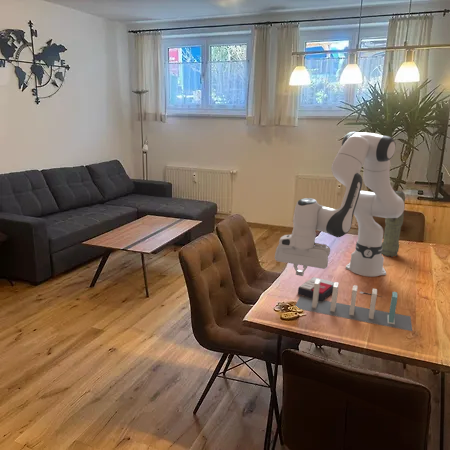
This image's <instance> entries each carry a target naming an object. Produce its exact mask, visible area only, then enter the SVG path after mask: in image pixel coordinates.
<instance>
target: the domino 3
mask: <svg viewBox="0 0 450 450" xmlns="http://www.w3.org/2000/svg"><path fill="white" fill-rule="evenodd" d="M358 288H359V286H358V285H355V284H354V285H353V286H352V290H351V299H350V304H349V305H350V312H349V315H354V310H355V306H356V301H357V294H358Z"/></svg>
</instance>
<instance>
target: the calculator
mask: <svg viewBox="0 0 450 450" xmlns="http://www.w3.org/2000/svg"><path fill="white" fill-rule="evenodd" d="M316 279H320V288H319V297H318V300H320V301H323V300H326V299H327V298H328V297H329V296H330V295H332V292H333V285H334V282H335V281H331V280H327V279H323V278H319V277H315V276H313V277H311V278H310V279H308V280H307V281H305V282H304V283H303V284H301V285H300V286H298V288H297V295H299V296H303V297H309V298H313V292H314V283H315V281H316Z"/></svg>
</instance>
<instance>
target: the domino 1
mask: <svg viewBox="0 0 450 450" xmlns="http://www.w3.org/2000/svg"><path fill="white" fill-rule="evenodd" d="M320 279H321V278H320ZM320 279H316V281H315V283H314V292H313V301H312V307H313V308H316V307H317V304H318V297H319V288H320Z"/></svg>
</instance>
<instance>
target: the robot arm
mask: <svg viewBox="0 0 450 450" xmlns="http://www.w3.org/2000/svg"><path fill="white" fill-rule="evenodd" d="M396 144H397V143H396V141H395V140H394V138H393V137H391V136H389V135H382V134H380V133H374V132H361V131H360V132H359V131H350V132H348V133H347V134H345V135H344V137H343V139H342V142H341V147H340V148H339V149H338V152H337V154H336V155H335V157H334V159H333V161H332V162H331V163H332V164H331V173H332V175H333V178H335V179H336V181H337V182H339V183H340V184H341V185H343V186H344V187H345V191H344V195H343V198H342V201H341V203H340V204H341V205H340V207H338V208H332V207H328V206H326V205H322V204H319V202H318V200H316V199H315V198H310V197H308V198H307V197H305V198H300V199H299V200H297V202H296V203H295V207H294V211H293V219H292V224H293V229H292V230H291V231H292V232H291V234H284V235H282V236H281V237H280V238H279V241H278V245H277V247H276V249H275V252H274V253H275V254H274V259H275V261H276V262H279V263H286V264H292V265H293V268H294V270H295V276H300V277H304V273H305V271H306V270H307V269H308V268H309V267H312V268H315V269H316V268H317V269H323V270H325V269H327V268H328V265H329V256H330V254H331V248H330V246H328V245H327V244H324V243H323V244H322V243H319V242H318V243H317V242H316V236H317V235H316V231H319V232H321V233H322V232H323V233H325V234H328V235H330V236H333V237H336V238H342V237H344V236H345V235H347V234H348V233H349V232H350V231H351V228H352V224H353V218H354V217H355V219H356V223H357V225H358V226H357V227H358V232H357V233H358V234H357V241H356V244H355V250H354V251H352V253H350V260H349V263H348V264H346V266H345V269H346V270H349V271H351V272H353V274H355V275H360V276H362V277H378V276H386V275H387V271H386V270H385V268H384V262H385V260H384V259H385V258H384V255H382V254H381V253H382V242H383V239H384V228H383V227H382V226H381V224H379V223H378V222H376V221H375V219H374V217H378V218H384V219H386V218H398V217H399V216H401V214H402V213H404V211H405V208H406V207H405V203H404V201H403V200H402V198H401V197H399V196H398V195H397V194H396V193H395V192H394V191H395V190H394V188H393V187H392V184H391V179H390V173H391V172H390V169H391V159H393V157H394V155H395V153H396V147H397V145H396ZM362 168H363V170H362ZM361 170H362V171H363V172H362V173H363V174H362V175H361ZM363 184H364V186H365V187H367V188H368V189H370V190H371V191H368V190H362V187H363ZM298 266H302V268H303V269H302V270H301V269H299V268H298Z"/></svg>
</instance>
